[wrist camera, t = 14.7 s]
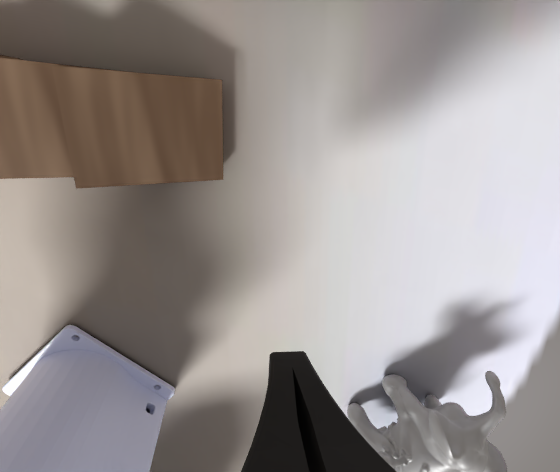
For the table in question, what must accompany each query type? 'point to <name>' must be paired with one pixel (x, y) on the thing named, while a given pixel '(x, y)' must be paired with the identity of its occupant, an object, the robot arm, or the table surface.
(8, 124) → the domino
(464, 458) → the gray elephant figurine
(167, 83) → the domino
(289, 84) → the table surface
